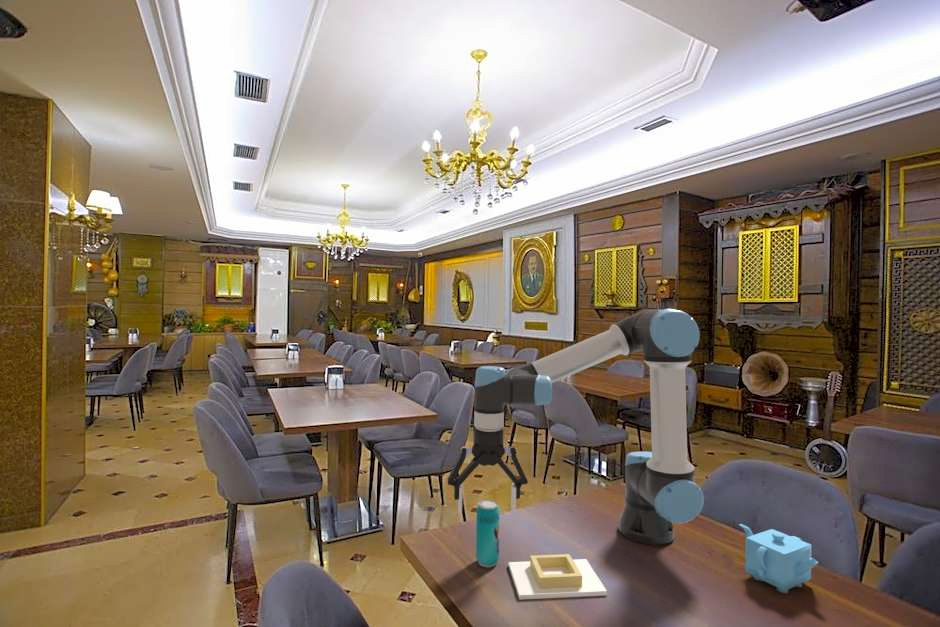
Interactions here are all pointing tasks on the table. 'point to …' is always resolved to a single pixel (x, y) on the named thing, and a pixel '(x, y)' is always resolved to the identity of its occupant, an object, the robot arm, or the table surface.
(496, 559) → the beverage can
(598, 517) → the table surface
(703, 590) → the table surface
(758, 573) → the teapot
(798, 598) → the table surface
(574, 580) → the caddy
